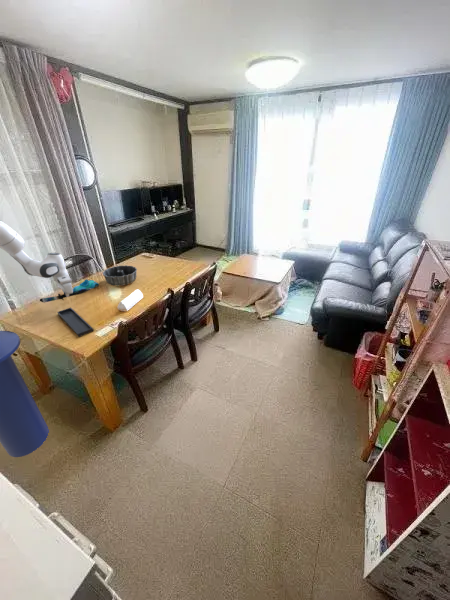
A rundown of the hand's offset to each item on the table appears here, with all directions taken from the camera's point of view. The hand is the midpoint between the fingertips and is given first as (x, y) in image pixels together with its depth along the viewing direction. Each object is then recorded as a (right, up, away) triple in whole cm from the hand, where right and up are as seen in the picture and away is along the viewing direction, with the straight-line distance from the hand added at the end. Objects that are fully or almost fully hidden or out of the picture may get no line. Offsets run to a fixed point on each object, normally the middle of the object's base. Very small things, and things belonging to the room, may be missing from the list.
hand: (67, 295), depth 173 cm
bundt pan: (+22, +12, +40) cm, 47 cm away
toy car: (-3, +6, +28) cm, 29 cm away
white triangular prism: (+41, -6, +7) cm, 42 cm away
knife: (0, -2, +1) cm, 2 cm away
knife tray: (+14, -17, -14) cm, 26 cm away
